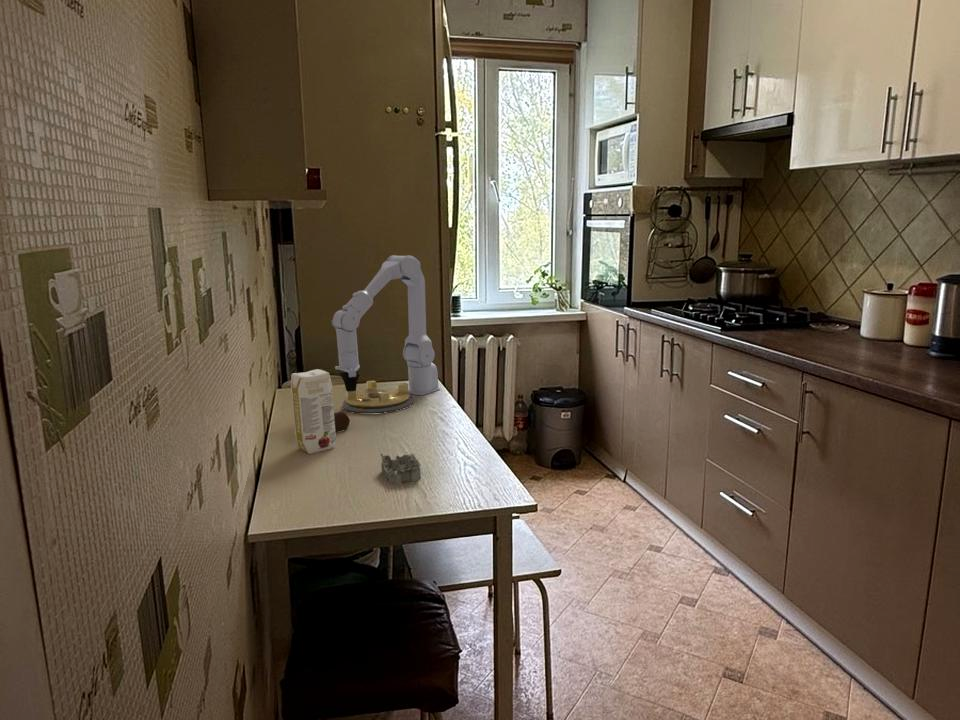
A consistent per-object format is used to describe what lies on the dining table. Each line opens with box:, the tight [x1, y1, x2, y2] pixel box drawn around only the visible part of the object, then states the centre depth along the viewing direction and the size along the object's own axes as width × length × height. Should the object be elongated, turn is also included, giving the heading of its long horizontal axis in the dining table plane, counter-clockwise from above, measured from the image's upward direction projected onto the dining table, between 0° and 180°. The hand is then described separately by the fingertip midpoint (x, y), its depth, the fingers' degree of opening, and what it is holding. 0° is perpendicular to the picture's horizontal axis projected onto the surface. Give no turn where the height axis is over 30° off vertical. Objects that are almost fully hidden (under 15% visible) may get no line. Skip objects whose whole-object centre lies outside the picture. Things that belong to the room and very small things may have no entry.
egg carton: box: [380, 453, 422, 485], centre depth 144 cm, size 11×8×4 cm
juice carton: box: [290, 368, 337, 455], centre depth 161 cm, size 8×9×19 cm
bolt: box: [334, 411, 351, 433], centre depth 182 cm, size 6×5×15 cm
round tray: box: [345, 380, 411, 408], centre depth 201 cm, size 19×19×4 cm
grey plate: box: [342, 394, 414, 414], centre depth 202 cm, size 21×21×1 cm
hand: (351, 395), depth 199 cm, fingers closed, pressing on round tray
